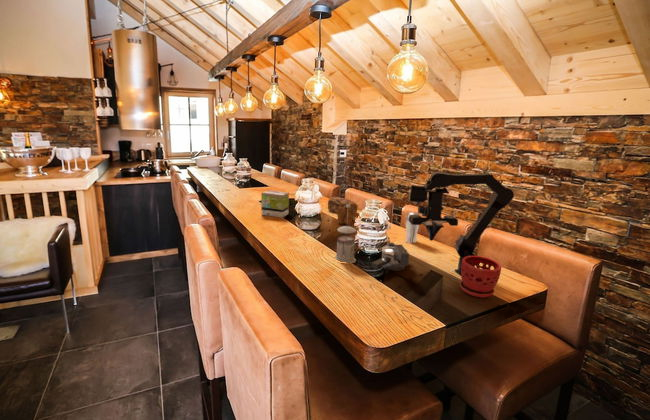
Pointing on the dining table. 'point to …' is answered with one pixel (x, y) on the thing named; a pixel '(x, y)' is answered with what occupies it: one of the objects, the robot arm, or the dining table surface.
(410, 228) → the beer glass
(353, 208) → the stuffed squirrel
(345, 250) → the french press
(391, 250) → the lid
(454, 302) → the dining table surface
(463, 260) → the plant pot
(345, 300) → the dining table surface
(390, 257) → the pot
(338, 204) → the bread
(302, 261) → the dining table surface
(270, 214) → the tea box
